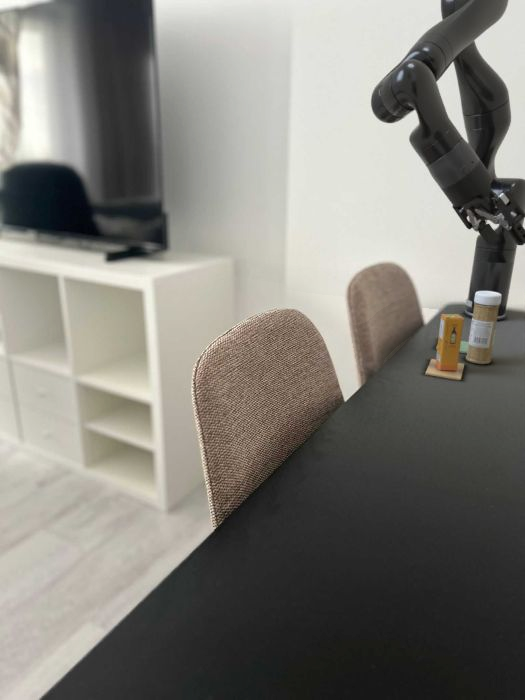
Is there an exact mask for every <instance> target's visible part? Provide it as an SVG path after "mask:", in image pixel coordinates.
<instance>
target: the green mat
mask: <svg viewBox="0 0 525 700" xmlns="http://www.w3.org/2000/svg"><path fill="white" fill-rule="evenodd" d="M468 342H469V341H465V340H461V344H460V351H459V354H460V353H461V354H467V351H468V345H469V343H468ZM437 347H438V344H437V345H436V347H435V350H437Z"/></svg>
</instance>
